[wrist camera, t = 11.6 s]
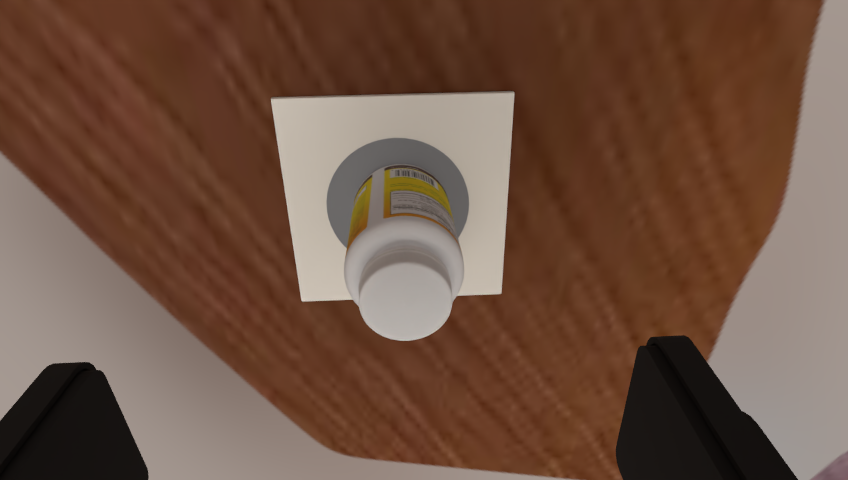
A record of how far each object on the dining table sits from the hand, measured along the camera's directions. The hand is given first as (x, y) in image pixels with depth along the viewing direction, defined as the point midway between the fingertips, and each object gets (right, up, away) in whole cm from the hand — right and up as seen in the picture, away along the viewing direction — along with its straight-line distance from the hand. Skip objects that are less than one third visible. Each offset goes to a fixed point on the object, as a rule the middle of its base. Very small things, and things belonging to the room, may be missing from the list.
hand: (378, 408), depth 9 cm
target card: (-1, +5, +22) cm, 23 cm away
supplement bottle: (0, +5, +22) cm, 22 cm away
